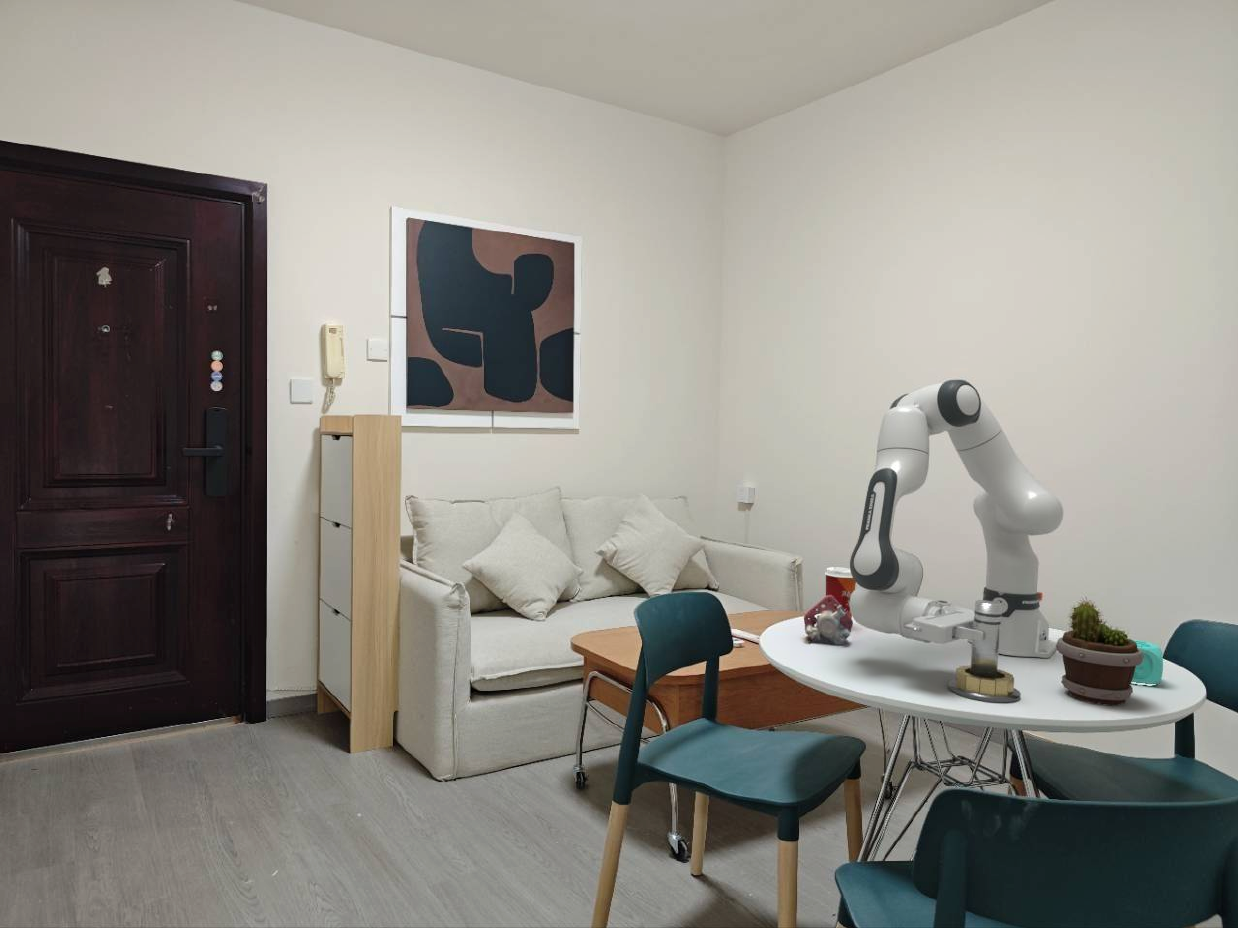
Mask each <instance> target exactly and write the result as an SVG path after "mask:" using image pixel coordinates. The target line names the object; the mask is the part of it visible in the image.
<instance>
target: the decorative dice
mask: <svg viewBox="0 0 1238 928" xmlns="http://www.w3.org/2000/svg"><path fill="white" fill-rule="evenodd" d="M1130 639H1131V638H1130ZM1131 640H1133V641H1134V642H1136V644H1137V648H1139V649H1140V650H1141V651H1142V652H1143V655H1144V658H1143V662H1142V663H1141V664H1140V665H1137V666H1136V668H1135V672H1134V676H1133V679H1132V681H1131V682H1136V683H1145V684H1157V683H1158V684H1160V683H1161V680H1162V677H1163V670H1164V658H1163V657H1164V656H1163V652H1162V648H1161V647H1160V646H1159V645H1158V644H1155V643H1153V642H1150V641H1146V640H1140V639H1133V638H1132V639H1131ZM1158 684H1157V685H1158Z"/></svg>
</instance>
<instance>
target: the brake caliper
mask: <svg viewBox="0 0 1238 928" xmlns="http://www.w3.org/2000/svg"><path fill="white" fill-rule="evenodd" d="M829 600H831V601H829ZM822 605H823V606H824V607H823V606H822ZM834 606H837V609H834ZM832 612H833V613H832ZM840 618H842V620H840ZM853 620H854V619H851V617H850V616H849V615H848V614H847V612H846V611H845V610H844V609H843V607H842V605H840V604H839V603H838V602H837V600H836V599H835V598H834V597H833V596H832V595H828V596H826V595H825V597H823V598H822V599H821V600H820V601H819V602H818V603H817V604H815V605H814V606H813V607H812V608H810V609H809V610H808V611H807V612H806V613H805V614H804V616H803V623H804V631H805V634H806V636H805V637H804V638H803V640H804V643H805V644H806V645H810V643H811V642H813V643H814V644H816V643H817V644H831V645H832V644H833V645H839V646H840V645H841V646H842V645H843V644H844V643H845V642H846V640H847V639H848V638H849V637H850V635H851V632H852V628H853V623H854V621H853ZM815 625H816V626H815Z"/></svg>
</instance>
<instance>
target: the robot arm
mask: <svg viewBox="0 0 1238 928" xmlns="http://www.w3.org/2000/svg"><path fill="white" fill-rule="evenodd" d="M944 432H947V435H948V436H949V438H950V440H951V443H952V445H953V447H954V449H955V451H956V453H957V454H958V457H959V458H960V460H961V463H962V464H963V465H964V467H965V469H966V471H967V473H968V475H969V477H970V478H971V479H972V480H973V481H974V482H975V483H977V484H978V485H979V486H980V487H981V489H980V490H978V492H977V493H976V495H975V497H974V499H973V504H972V505H973V507H972V508H973V512H974V515H975V516H976V518H977V520H979V522H980V526H981V530H982V534H983V539H984V543H985V549H986V575H985V586H984V587H983V591H982V600H986V601H994V602H998V603H1001V604H1002V616H1001V627H1000V641H999V654H1001V655H1005V656H1013V657H1028V658H1029V657H1032V658H1043V659H1049V658H1051V656H1052V655H1053V654H1054V653H1055V652H1056V651H1058V650H1057V647H1056V644H1057V641H1056V642H1055V641H1053V640H1049V634H1050V632H1049V631H1050V625H1049V621H1047V619H1046V617H1045V616H1044V615H1043V614H1042V612H1041V610H1040V609H1039V608H1040V602H1041V601H1042V600H1043V597H1044V595H1043V593H1042V592H1041V591H1038V576H1039V565H1040V564H1039V563H1040V562H1039V558H1038V557H1037V554H1036V553H1035V552H1034V550H1033V548H1032V545H1031V542H1030V536H1031V537H1032V536H1042V535H1048V534H1051V533H1053V532H1054V531H1056V530H1057V529H1058V528H1059V527H1060V525H1061V524H1062V521H1063V518H1064V507H1063V505H1062V502H1061V500H1060V499H1059V498H1058V497H1057V496H1055V494H1053V493H1051V492H1050V491H1049V490H1047V489H1046V488H1045V486H1043V485H1042V484H1041V483H1040V482H1039V481H1038V480H1037V478H1036V477H1035V476H1034V475H1033V474H1032V473H1031V472H1030V470H1029V469H1028V467H1026V466H1025V465H1024V463H1023V462H1022V460H1021V459H1020V458H1019V457H1018V455H1017V454H1016V452H1015V450H1014V448H1013V447H1012V445H1011V443H1010V441H1009V439H1008V437H1007V436H1006V434H1005V432H1004V430H1003V429H1002V426H1001V425H1000V423H999V421H998V420H997V418H996V417H995V415H994V413H993V412H992V411H991V409H990V408H989V407H988V405H987V404H986V403H985V401H983V399H982V398H981V397H980V394H979V392H978V390H977V389H976V388H975V386H973V385H972V384H971V383H970V382H969V381H967V380H965V379H949V380H946V381H943V382H939V383H934V384H929V385H926V386H923V387H922V388H920V389H917V390H914V391H912V392H910V393H905V394H903V395H901V396H899V397H897V399H895V400H894V401H893V402H892V403H891V405H890V407H889V410H887V411H886V412H885V414H884V416H883V417H882V420H881V426H880V430H879V434H878V437H877V446H876V448H877V449H876V459H875V460H876V461H875V465H874V466H875V467H874V472H873V475H872V476H871V477H870V480H869V483H868V487H867V491H866V495H865V497H866V498H865V503H864V509H863V513H862V520H861V525H860V526H861V527H860V531H859V535H858V539H857V542H856V545H855V547H854V548H853V551H852V553H851V556H850V561H849V569H850V571H851V574H852V577H853V579H854V580H855V581H856V584H857V585H859V586H858V587H857V588H855V590H854V591H853V593H852V594H851V597H850V611H851V615H852V618H853V620H854V621H855V622H856V623H857V624H858V625H860V626H861V627H864V628H866V629H869V630H872V631H877V632H880V633H884V634H888V635H890V634H891V635H892V634H895V635H899V636H901V637H903V638H904V639H905V638H906V639H910V640H914V641H918V642H921V643H922V642H923V643H926V644H927V643H928V644H929V643H936V644H944V645H945V644H947V643H951V642H955V641H958V640H967V642H969V643H971V644H972V641H973V640H978V641H982V640H984V639H985V635H986V633H985V631H982V630H977V629H976V630H973V627H974V610H975V609H974V610H973V609H969V608H966V607H961V606H958V605H952V603H951V601H946V600H936V599H935V600H934V599H930V598H925V597H919V596H918V594H919V591H920V588H921V585H922V582H923V578H924V568H923V565H922V563H921V561H920V560H919V558H918V557H917V556H915V555H914V554H913V553H910V552H907V551H905V550H903V549H898V548H896V547H894V544H893V542H892V533H893V527H894V523H895V522H894V520H895V513H896V508H897V504H898V502H899V501H900V499H901V498H902V497H904V496H907V495H910V494H913V493H914V492H916V491H919V489H921V488H922V487H923V485H924V484H925V483H926V479H927V478H928V477H927V476H928V473H929V466H930V464H929V463H930V436H934V435H938V434H942V433H944Z"/></svg>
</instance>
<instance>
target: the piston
mask: <svg viewBox="0 0 1238 928" xmlns="http://www.w3.org/2000/svg"><path fill="white" fill-rule="evenodd" d="M974 602H975V603H974V627H973V630H976V629H977V630H982V631H985V633H986V635H985V639H984V640H982V641H978V640H973V641H972V643H971V645H972V646H971V655H970V659H971V660H970V666H971V669H970V674H971V675H974V676H978V677H983V678H991V679H997V669H998V667H999V665H998V664H999V641H1000V627H1001V616H1002V604H1001V603H998V602H994V601H986V600H983V599H982V600H980V599H977V600H975V601H974ZM998 670H999V669H998Z"/></svg>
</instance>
